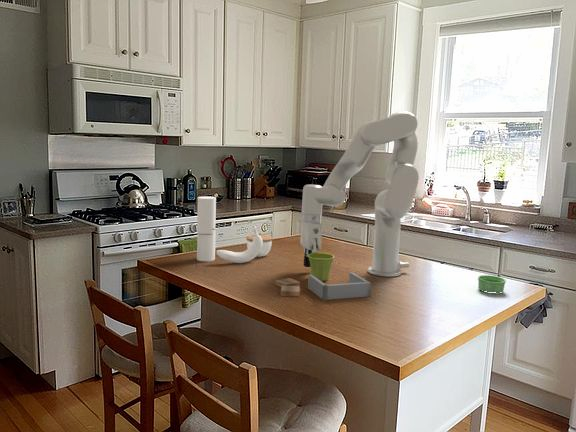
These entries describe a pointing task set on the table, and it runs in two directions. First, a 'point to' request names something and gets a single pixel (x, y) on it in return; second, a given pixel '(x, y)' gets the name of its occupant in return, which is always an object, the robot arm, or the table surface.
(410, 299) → the table surface
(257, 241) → the white curved piece
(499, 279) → the ramekin
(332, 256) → the plant pot
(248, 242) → the lidded jar
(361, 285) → the u-shaped fence
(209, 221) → the cylindrical container
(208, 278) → the table surface
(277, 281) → the tile
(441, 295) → the table surface
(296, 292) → the tile
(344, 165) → the robot arm
